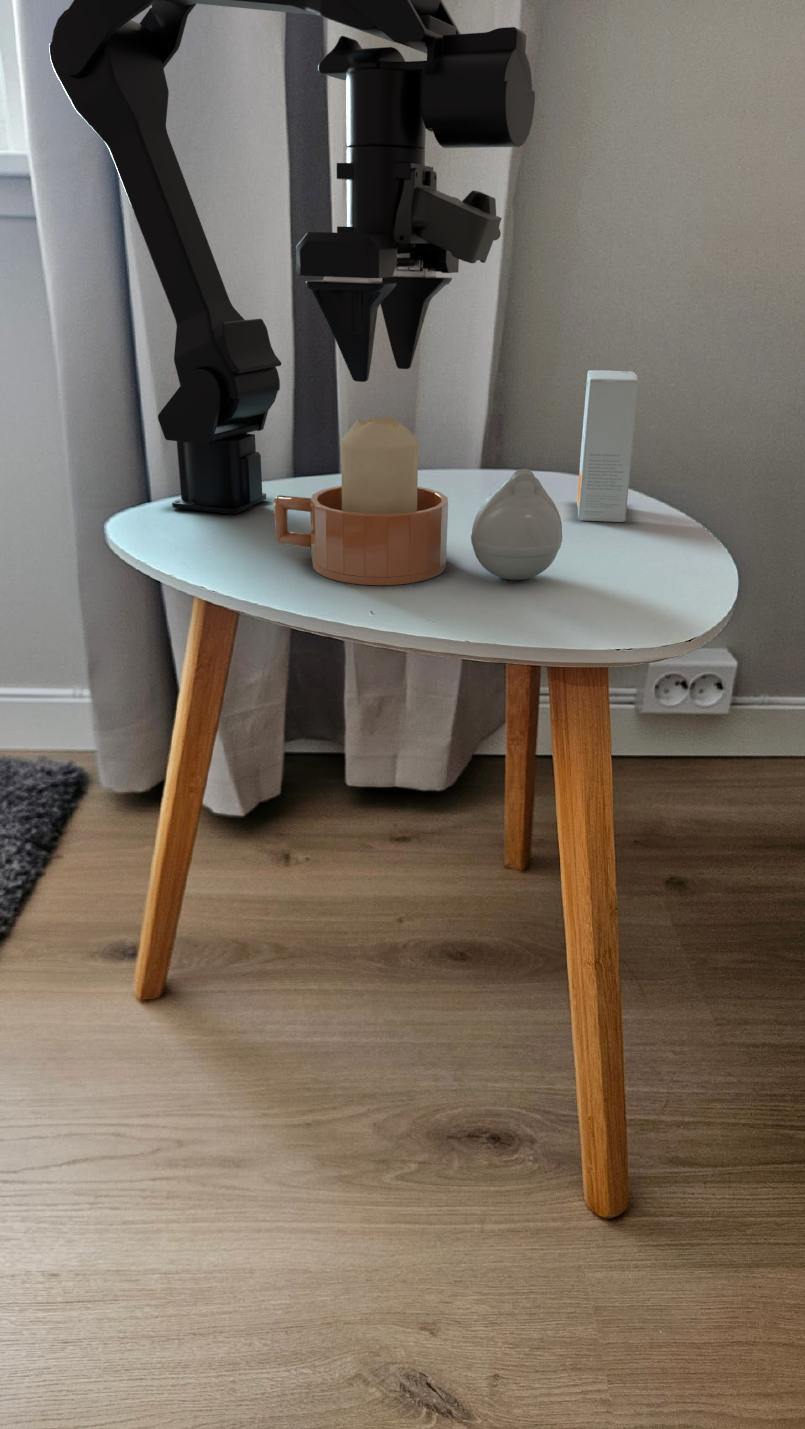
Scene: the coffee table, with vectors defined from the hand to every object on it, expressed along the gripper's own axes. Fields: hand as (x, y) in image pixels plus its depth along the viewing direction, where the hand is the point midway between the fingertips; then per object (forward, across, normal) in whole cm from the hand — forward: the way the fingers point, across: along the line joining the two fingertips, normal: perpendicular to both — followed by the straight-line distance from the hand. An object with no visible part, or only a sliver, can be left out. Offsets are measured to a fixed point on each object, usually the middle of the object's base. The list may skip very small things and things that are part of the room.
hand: (383, 374), depth 79 cm
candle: (+12, -10, -4) cm, 16 cm away
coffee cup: (+12, -10, -2) cm, 16 cm away
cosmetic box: (+12, +12, -16) cm, 24 cm away
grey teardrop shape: (+12, -9, -14) cm, 21 cm away
